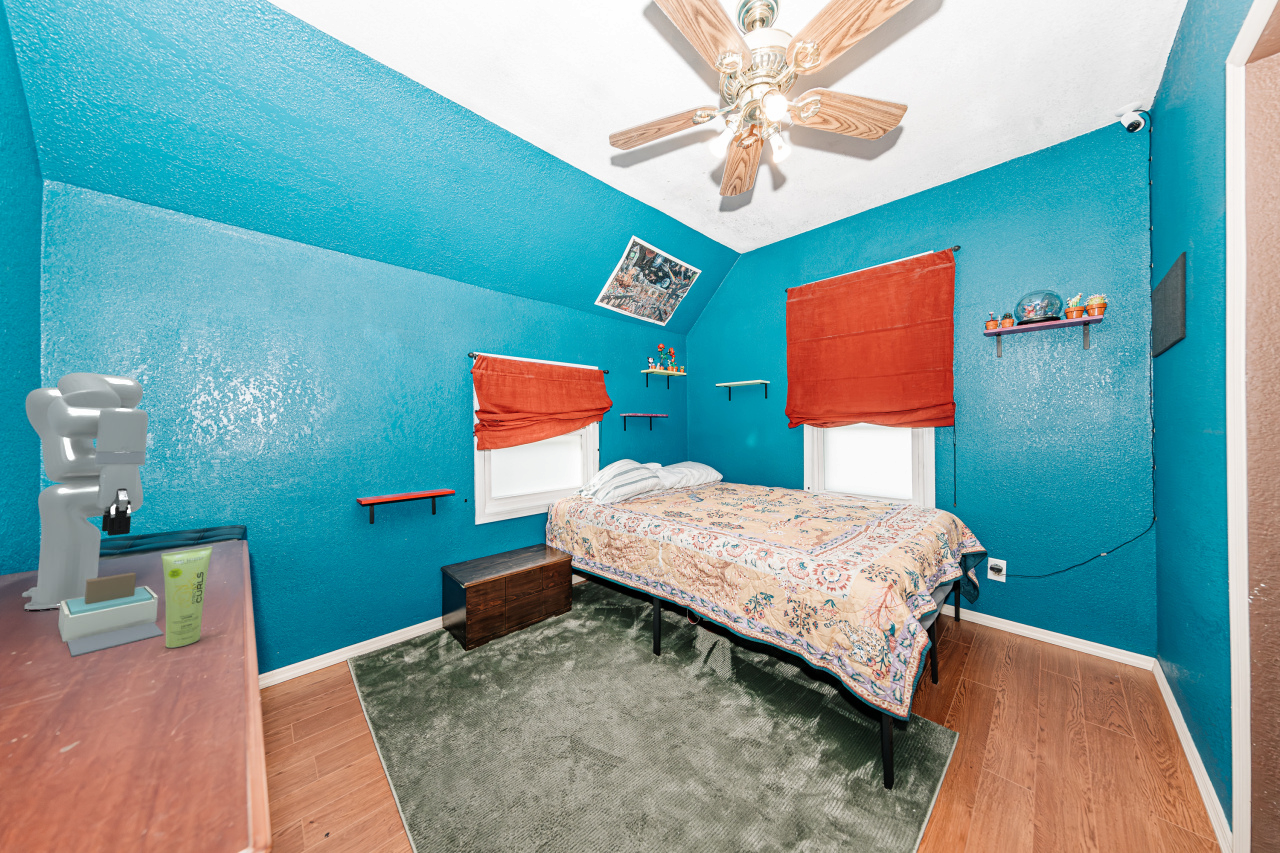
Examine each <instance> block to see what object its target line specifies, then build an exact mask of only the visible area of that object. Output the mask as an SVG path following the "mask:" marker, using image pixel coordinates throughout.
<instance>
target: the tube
mask: <svg viewBox="0 0 1280 853" xmlns="http://www.w3.org/2000/svg"><path fill="white" fill-rule="evenodd" d="M213 549H214V548H213V546H206V547H200V548H199V547H198V548H194V549H185V550H180V551H173V552H166V553H165V552H164V553H161V556H160V557H161V562H162V570H163V579H164V594H165V595H164V596H165V647H166V648H169V649H172V648H179V647H184V646H188V645H191V644H193V643H196V642H197V641H199V640H200V639H201V632H202V618H203V610H204V602H205V600H204V599H205V592H206V583H207V579H208V578H207V577H208V571H209V567H210V561H211V557H212V554H213Z"/></svg>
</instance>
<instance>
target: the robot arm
mask: <svg viewBox="0 0 1280 853" xmlns="http://www.w3.org/2000/svg"><path fill="white" fill-rule="evenodd" d="M56 386H57V387H56ZM56 386H55V387H41V388H37V389H36V388H35V389H34V390H31V391H30V392H29V393H28V394H27V396H26V398H25V399H26V400H25V411H26V412H25V413H26V416H27V419H28V421H29V423H30V424H31V426H32V427H33V429H34V431H35V432H36V434H38V436H39V438H40V440H41V446H42V449H41V450H42V458H43V466H44V471H45V475H46V476H47V477H46V478H47V479H49V480H50V481H51V482H55V483H58V484H53V485H50V486H48V487H46V488H44V489H43V490H42V491H41V492H40V493H39V494H38V495H39V496H38V501H37V502H38V510H39V516H40V523H41V524H40V525H41V526H40V527H41V529H40V530H41V533H40V550H39V561H38V562H39V563H38V571H37V584H36V586H34V587H31V588H29V589H28V591H23V593H21V597H22V598H28V597H29V598H31V601H30V602H27V603H26V604H24V610H25V609H46V608H55V607H60V601H63V600H68V599H74V598H80V597H85V590H86V580H87V579H94V578H98V575H99V562H100V561H99V560H100V550H101V549H100V548H101V539H102V537H101V536H102V535H101V531H102V532H107V536H109V537H110V536H111V537H112V536H120V535H121V536H122V535H129V534H130V532H131V524H132V522H131V521H132V520H131V519H132V516H131V514H132V513H134V512H137V511H138V510H139V509H140V508H141V507H142V505H143V502H144V492H143V491H144V490H143V485H142V481H141V475H140V474H141V473H140V469H139V467H141V466H142V467H143V466H145V465H146V464H145V463H146V453H147V452H146V451H147V438H148V423H149V415H148V412H147V411H146V410H144V409H139V408H136V407H137V406H138V405H139V404H140V402H141V401H142V399H143V396H144V395H143V394H144V391H143V387H142V385H141V384H140V382H139V381H138V380H136V379H135V378H133V377H129V376H122V375H114V374H103V373H94V372H81V371H80V372H72V373H69V374H65V375H64V376H61V377H60V378H59V380H58V381H57V384H56ZM94 440H96V443H95V444H96V445H94ZM95 517H102V522H101V531H100V529H99V528H98V527H97V526H95V524H93V523H91V522H90V521H89V520H88V518H89V519H90V518H95Z"/></svg>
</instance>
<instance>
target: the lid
mask: <svg viewBox="0 0 1280 853" xmlns="http://www.w3.org/2000/svg"><path fill="white" fill-rule="evenodd" d="M136 574H137V573H135V572H134V571H133V572H128V573H127V572H126V573H121V574H115V575H114V574H113V575H107V576H103V577H97V578H94V579H87V580H86V590H85V598H79V599H74V600H68V601H67V603H66V605H67V607H68V610H69V612H70V615H71V616H73V615H78V614H83V613H88V612H93V611H98V610H104V609H109V608H114V607H119V606H124V605H129V604H135V603H140V602H145V601H150V600H152V596H151V595H150V594H149V593H148V592H147V591H146V590H145V589H144V588H143V586H141V587H142V588H137V587H136V579H137V575H136ZM135 588H137V589H135Z"/></svg>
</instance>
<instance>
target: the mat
mask: <svg viewBox="0 0 1280 853" xmlns="http://www.w3.org/2000/svg"><path fill="white" fill-rule="evenodd" d="M163 635H165V634H164V632H163V631H162V629H160V627H159V626H158V625H157V624H156V622H152V623H147V624H143V625H138V626H134V627H129V628H125V629H120V630H116V631H111V632H107V633H102V634H98V635H93V636H89V637H84V638H80V639H75V640H71V641H67V642H66V643H67V647H68V650H69V652H70V653H69V654H70V656H71V657H72V658H73V657H78V656H82V655H86V654H90V653H94V652H99V651H104V650H106V649H110V648H114V647H118V646H119V647H120V646H123V645H128V644H130V643H135V641H136V642H140V641H144V639H145V640H147V639H152V638H156V637H159V636H160V637H161V636H163ZM139 640H140V641H139Z"/></svg>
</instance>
